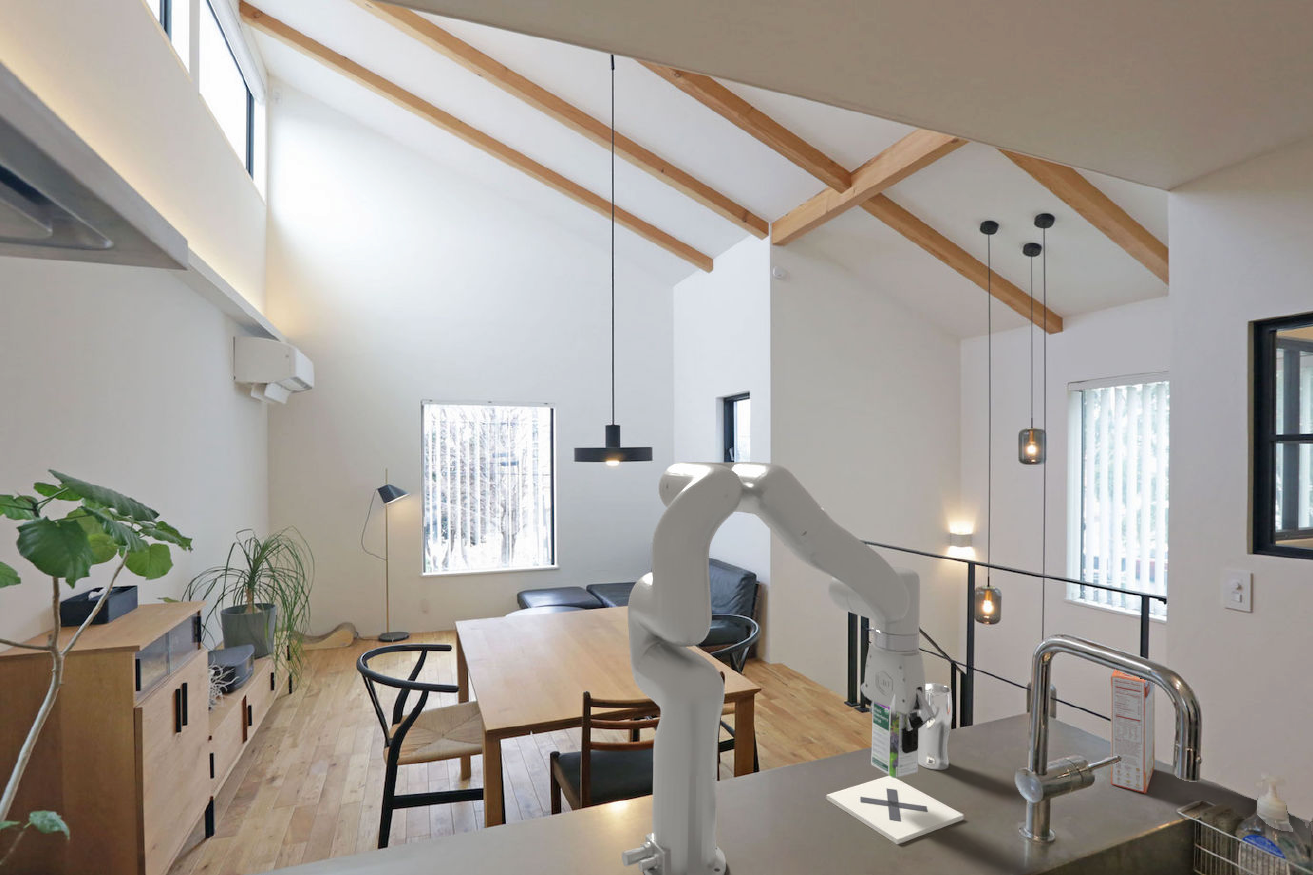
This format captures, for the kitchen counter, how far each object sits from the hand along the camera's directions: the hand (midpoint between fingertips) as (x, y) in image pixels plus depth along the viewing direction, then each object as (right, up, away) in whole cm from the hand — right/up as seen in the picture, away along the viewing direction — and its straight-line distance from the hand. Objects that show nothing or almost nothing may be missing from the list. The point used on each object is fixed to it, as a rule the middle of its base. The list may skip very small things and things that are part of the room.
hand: (894, 742), depth 124 cm
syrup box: (0, -5, 0) cm, 5 cm away
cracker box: (+50, -13, +14) cm, 54 cm away
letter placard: (0, -11, 0) cm, 11 cm away
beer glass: (+14, -12, +18) cm, 26 cm away
